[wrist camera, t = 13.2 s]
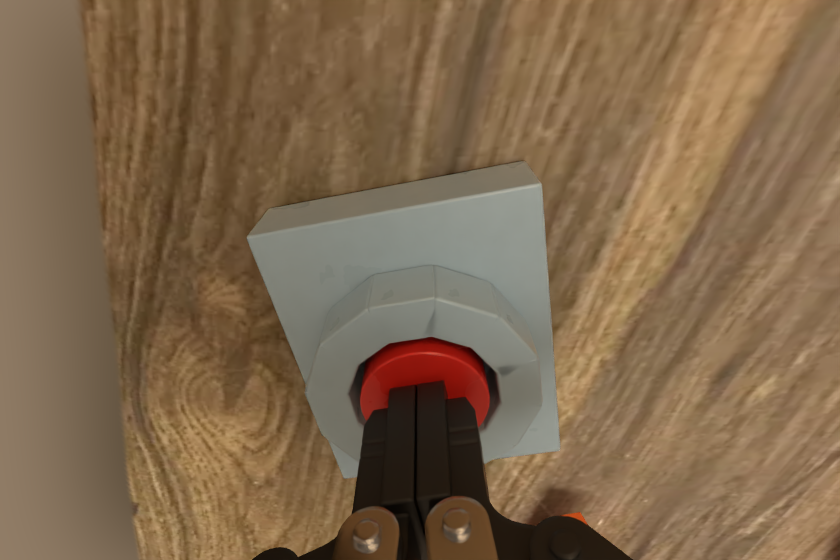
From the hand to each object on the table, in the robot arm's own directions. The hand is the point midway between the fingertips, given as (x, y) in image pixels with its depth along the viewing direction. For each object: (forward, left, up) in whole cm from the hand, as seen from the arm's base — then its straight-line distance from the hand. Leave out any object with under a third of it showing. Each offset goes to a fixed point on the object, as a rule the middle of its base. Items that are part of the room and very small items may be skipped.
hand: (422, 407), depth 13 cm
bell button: (0, 0, -2) cm, 2 cm away
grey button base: (0, 0, -4) cm, 4 cm away
